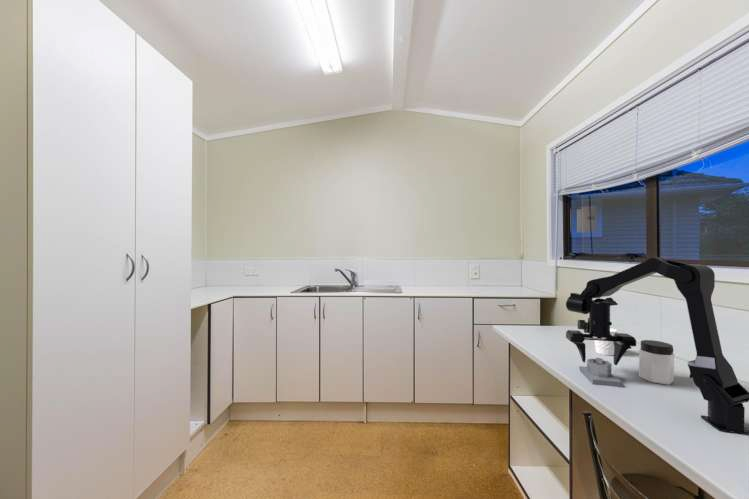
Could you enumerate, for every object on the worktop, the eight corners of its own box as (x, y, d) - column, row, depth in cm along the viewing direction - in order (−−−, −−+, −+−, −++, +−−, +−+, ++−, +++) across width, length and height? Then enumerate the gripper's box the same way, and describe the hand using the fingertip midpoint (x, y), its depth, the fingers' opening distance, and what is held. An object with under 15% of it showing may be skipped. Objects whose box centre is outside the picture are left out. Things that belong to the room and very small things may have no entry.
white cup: (615, 352, 135) (616, 328, 134) (618, 357, 128) (618, 332, 128) (593, 349, 139) (593, 326, 139) (594, 354, 132) (594, 329, 132)
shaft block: (621, 387, 101) (621, 366, 101) (592, 384, 103) (592, 364, 103) (605, 372, 112) (605, 354, 112) (579, 370, 115) (579, 352, 114)
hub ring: (613, 378, 104) (614, 366, 104) (592, 376, 106) (592, 364, 106) (605, 371, 110) (605, 359, 110) (585, 369, 112) (585, 357, 111)
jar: (668, 387, 101) (668, 349, 101) (636, 378, 108) (636, 342, 108) (677, 380, 106) (677, 344, 106) (645, 372, 113) (646, 338, 113)
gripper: (620, 313, 113) (620, 358, 113) (561, 310, 118) (561, 353, 118) (637, 320, 102) (637, 369, 102) (571, 317, 107) (571, 364, 107)
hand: (599, 363), depth 108 cm, fingers open, 9 cm apart
